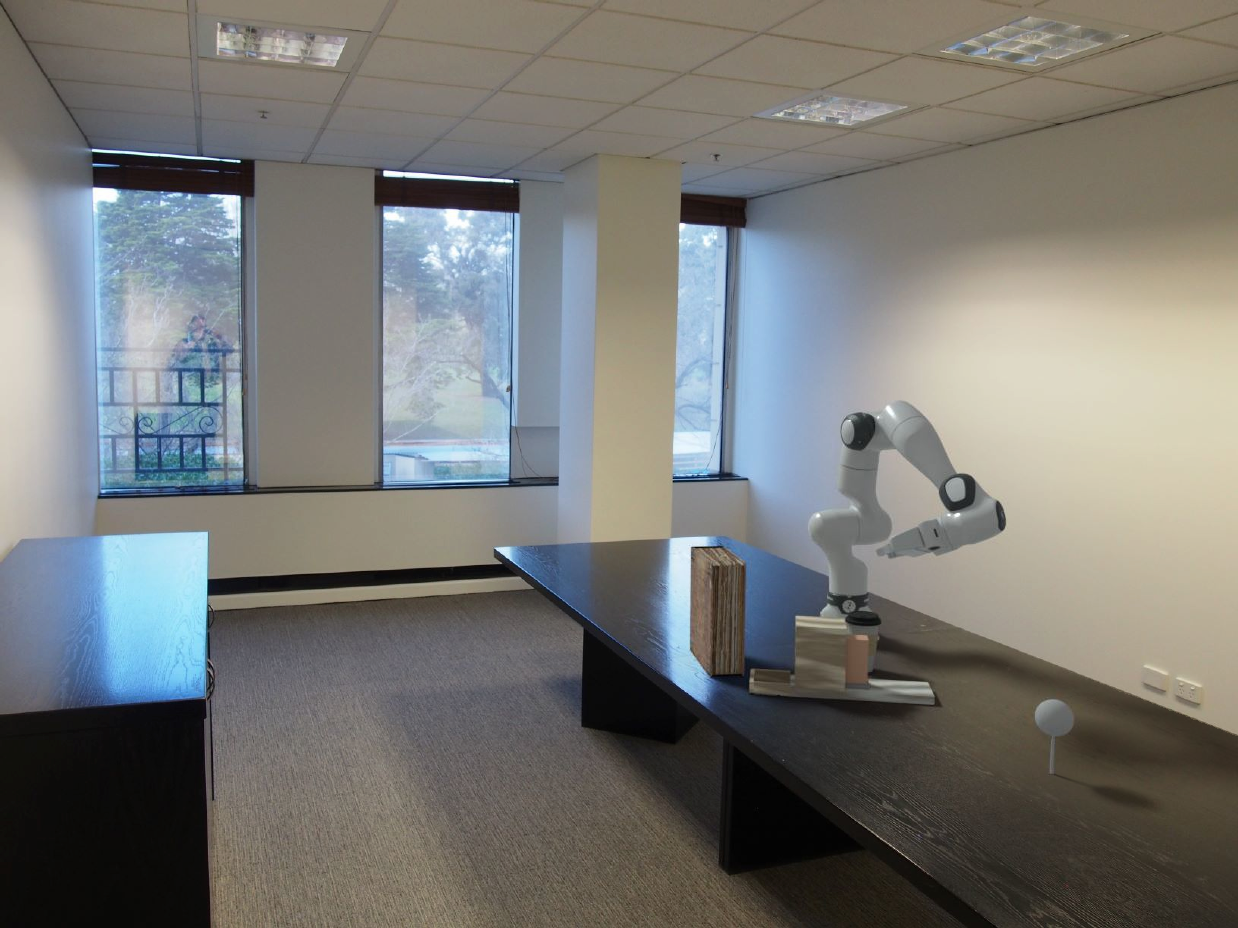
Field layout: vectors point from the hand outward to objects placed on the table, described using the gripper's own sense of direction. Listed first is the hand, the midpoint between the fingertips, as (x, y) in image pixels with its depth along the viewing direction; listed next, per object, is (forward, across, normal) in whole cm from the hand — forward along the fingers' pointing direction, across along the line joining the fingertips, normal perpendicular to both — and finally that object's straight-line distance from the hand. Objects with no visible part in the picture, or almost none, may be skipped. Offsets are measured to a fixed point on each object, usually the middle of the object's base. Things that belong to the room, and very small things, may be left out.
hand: (882, 554), depth 244 cm
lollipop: (-24, +24, +56) cm, 65 cm away
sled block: (+20, -1, +27) cm, 34 cm away
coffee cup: (+21, -22, +24) cm, 38 cm away
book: (+54, -6, +13) cm, 56 cm away
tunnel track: (+22, -1, +29) cm, 36 cm away
